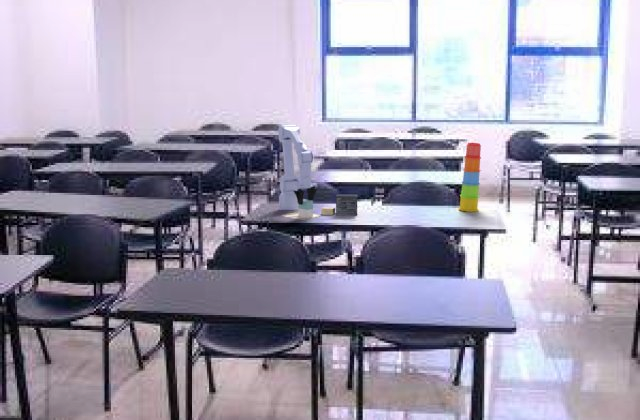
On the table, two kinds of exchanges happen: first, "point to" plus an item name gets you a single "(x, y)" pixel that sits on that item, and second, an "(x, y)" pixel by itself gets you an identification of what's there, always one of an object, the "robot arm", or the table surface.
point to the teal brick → (306, 204)
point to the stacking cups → (471, 179)
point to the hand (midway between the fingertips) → (305, 203)
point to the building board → (296, 216)
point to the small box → (346, 204)
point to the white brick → (305, 213)
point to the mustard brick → (328, 211)
